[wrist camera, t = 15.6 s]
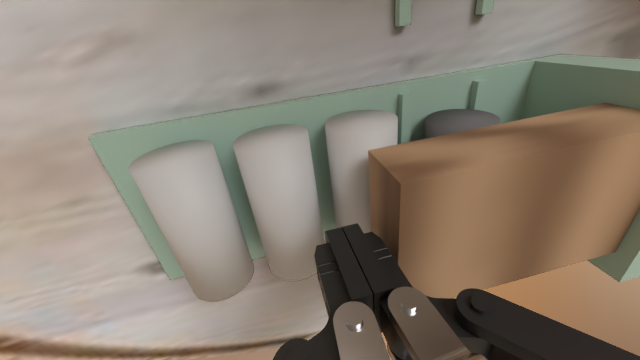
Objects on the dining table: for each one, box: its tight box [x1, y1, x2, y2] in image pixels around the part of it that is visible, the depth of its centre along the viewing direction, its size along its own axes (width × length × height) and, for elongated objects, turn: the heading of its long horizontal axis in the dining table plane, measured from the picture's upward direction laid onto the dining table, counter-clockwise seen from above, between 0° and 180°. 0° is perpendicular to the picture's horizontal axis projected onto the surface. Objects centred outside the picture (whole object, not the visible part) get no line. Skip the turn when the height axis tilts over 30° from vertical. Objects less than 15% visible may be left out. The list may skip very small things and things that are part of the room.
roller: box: [424, 109, 500, 139], centre depth 16 cm, size 4×6×4 cm, turn 7°
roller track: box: [88, 54, 640, 302], centre depth 14 cm, size 27×10×9 cm, turn 97°
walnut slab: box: [368, 103, 640, 298], centre depth 13 cm, size 12×7×3 cm, turn 97°
